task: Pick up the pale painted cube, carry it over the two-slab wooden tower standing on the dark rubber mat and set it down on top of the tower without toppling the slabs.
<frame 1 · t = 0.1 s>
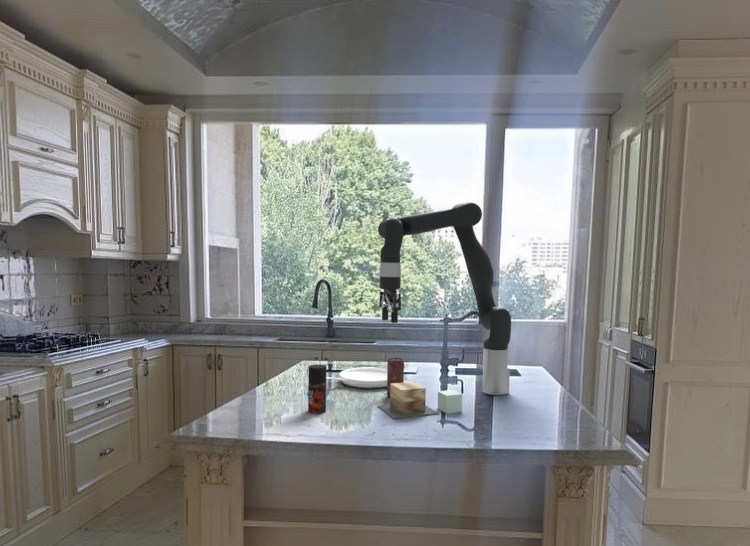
hand: (389, 321, 169), 29 cm above the countertop, fingers open, 8 cm apart
can: (395, 397, 178), on the countertop
block top: (407, 397, 161), point 4 cm above the countertop, touching block bottom
pan: (356, 385, 195), on the countertop
cube: (449, 410, 162), on the countertop
block bottom: (407, 409, 161), resting on mat, touching block top
mat: (407, 410, 161), on the countertop
deodorant: (317, 411, 159), on the countertop
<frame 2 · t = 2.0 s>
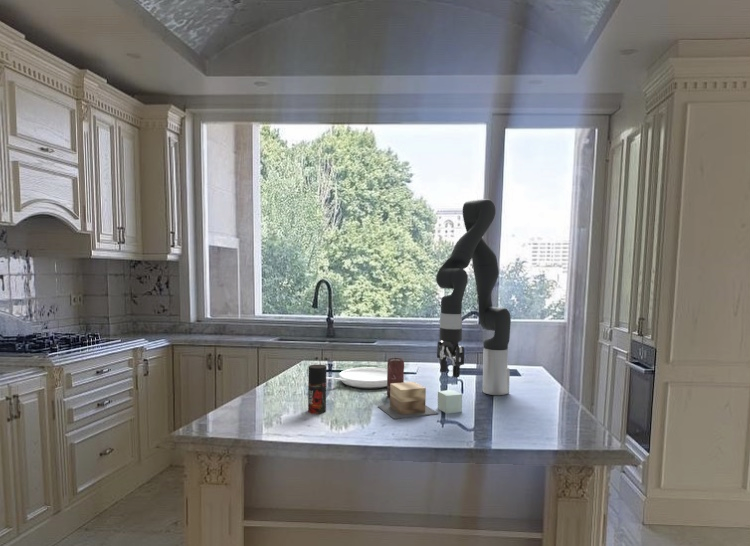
hand: (449, 374, 162), 12 cm above the countertop, fingers open, 8 cm apart
nothing on the countertop moved.
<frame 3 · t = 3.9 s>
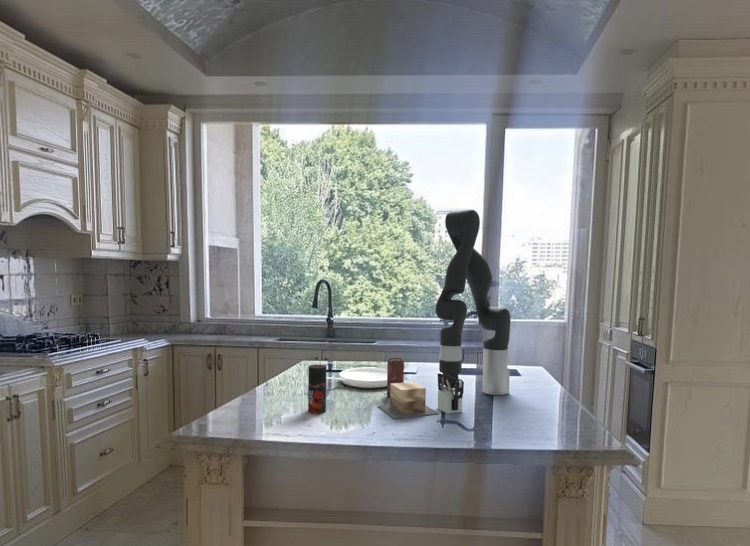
hand: (449, 407, 162), 1 cm above the countertop, fingers closed on cube, 6 cm apart
cube: (449, 410, 162), on the countertop, touching gripper
everything else where it was.
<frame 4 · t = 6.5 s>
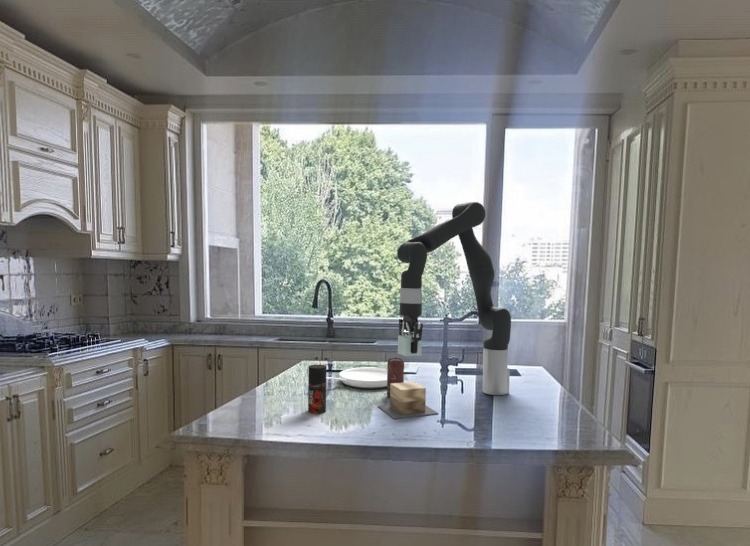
hand: (409, 351, 160), 20 cm above the countertop, fingers closed on cube, 6 cm apart
cube: (409, 354, 160), point 19 cm above the countertop, touching gripper
everything else where it was.
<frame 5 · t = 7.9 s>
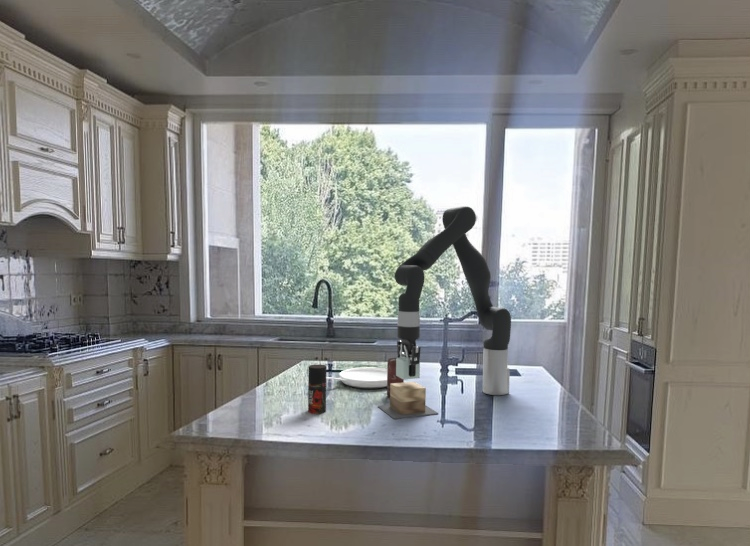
hand: (407, 373, 161), 12 cm above the countertop, fingers closed on cube, 6 cm apart
cube: (407, 376, 161), point 11 cm above the countertop, touching gripper
everything else where it was.
when the fingers open (11 cm above the countertop, at t = 9.0 s): cube drops 2 cm, resting on block top.
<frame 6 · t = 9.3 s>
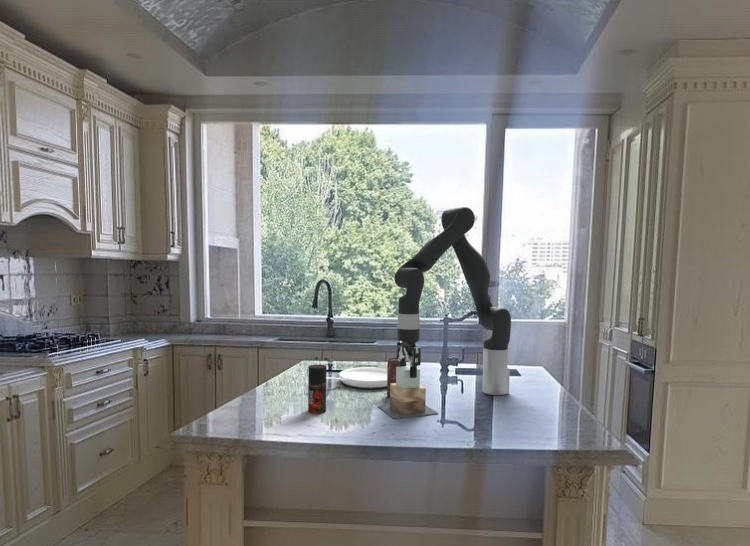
hand: (407, 374, 161), 12 cm above the countertop, fingers open, 8 cm apart
block top: (407, 397, 161), point 4 cm above the countertop, touching block bottom, cube
cube: (407, 385, 161), point 8 cm above the countertop, touching block top
everything else where it was.
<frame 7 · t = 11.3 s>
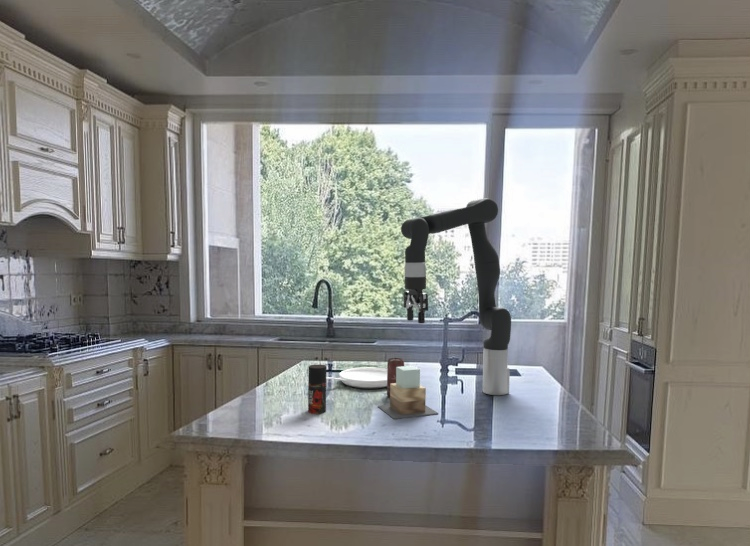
hand: (415, 321, 167), 29 cm above the countertop, fingers open, 8 cm apart
nothing on the countertop moved.
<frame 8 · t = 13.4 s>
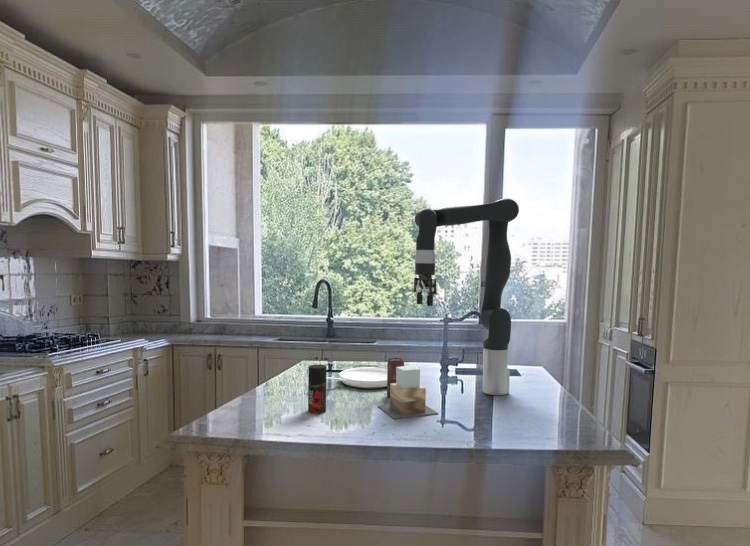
hand: (424, 305, 180), 34 cm above the countertop, fingers open, 8 cm apart
nothing on the countertop moved.
at the end: cube 0.1 cm off-centre on the block top, point 4.0 cm above the block top's base; cube tilted 0°; block top 0.0 cm off-centre on the block bottom, point 4.0 cm above the block bottom's base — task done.
